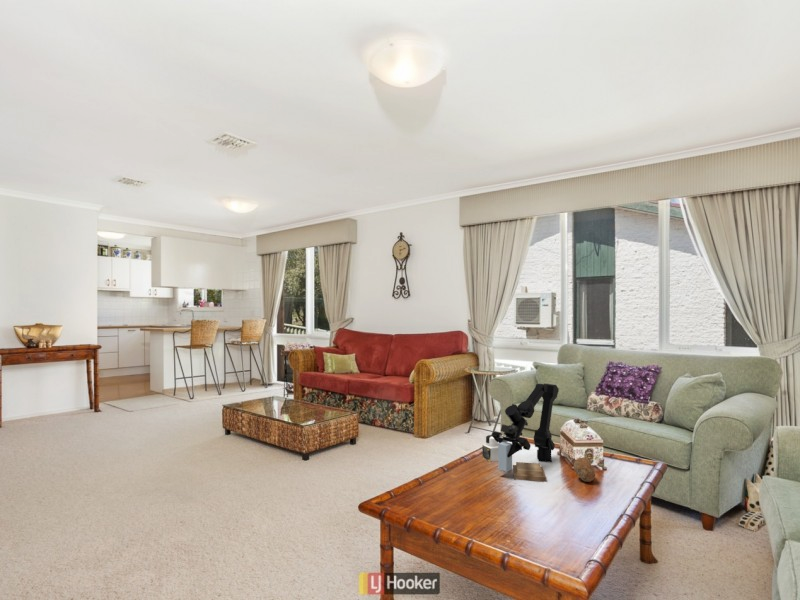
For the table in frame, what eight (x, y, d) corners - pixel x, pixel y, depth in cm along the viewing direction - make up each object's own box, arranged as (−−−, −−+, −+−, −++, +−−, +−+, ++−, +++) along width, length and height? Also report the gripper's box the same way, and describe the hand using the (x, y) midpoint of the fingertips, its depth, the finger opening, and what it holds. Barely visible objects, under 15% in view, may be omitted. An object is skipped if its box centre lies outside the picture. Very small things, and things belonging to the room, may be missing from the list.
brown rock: (598, 477, 213) (598, 456, 213) (593, 486, 203) (593, 463, 203) (577, 473, 218) (577, 452, 219) (571, 482, 208) (571, 459, 208)
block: (504, 466, 218) (503, 441, 218) (512, 469, 214) (511, 443, 214) (498, 469, 215) (498, 443, 215) (506, 471, 211) (506, 445, 211)
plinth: (542, 470, 222) (542, 462, 222) (546, 481, 208) (546, 472, 208) (512, 468, 225) (512, 460, 225) (514, 479, 211) (514, 470, 211)
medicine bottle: (482, 457, 241) (482, 435, 241) (493, 456, 244) (493, 433, 244) (490, 462, 234) (490, 438, 235) (501, 460, 237) (501, 436, 238)
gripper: (493, 414, 224) (479, 441, 217) (527, 421, 210) (513, 450, 203) (503, 427, 230) (489, 454, 222) (536, 435, 216) (523, 464, 208)
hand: (503, 455), depth 214 cm, fingers closed on block, 4 cm apart
